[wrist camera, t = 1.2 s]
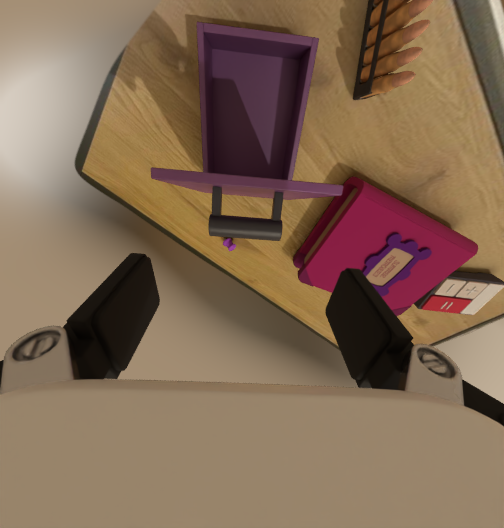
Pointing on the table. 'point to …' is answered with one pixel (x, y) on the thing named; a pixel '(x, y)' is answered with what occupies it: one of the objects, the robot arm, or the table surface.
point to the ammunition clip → (388, 45)
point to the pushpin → (229, 244)
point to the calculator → (461, 293)
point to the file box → (252, 99)
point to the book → (381, 246)
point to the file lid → (245, 187)
